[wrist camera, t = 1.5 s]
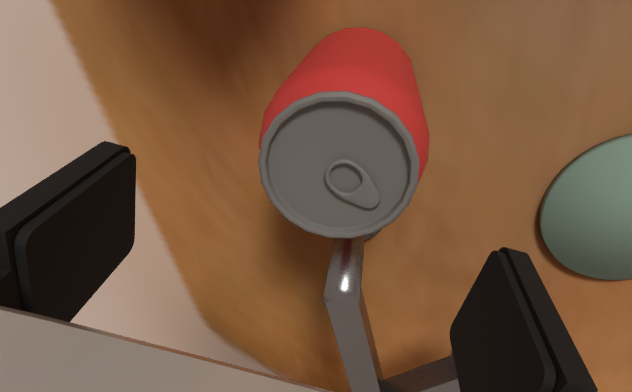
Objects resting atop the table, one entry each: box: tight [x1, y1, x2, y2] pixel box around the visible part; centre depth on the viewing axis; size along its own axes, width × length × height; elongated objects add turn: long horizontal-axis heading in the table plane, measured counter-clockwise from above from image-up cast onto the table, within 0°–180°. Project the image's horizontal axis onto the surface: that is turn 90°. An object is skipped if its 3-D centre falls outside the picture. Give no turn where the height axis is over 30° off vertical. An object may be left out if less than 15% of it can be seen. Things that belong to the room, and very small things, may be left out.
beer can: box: [258, 27, 429, 239], centre depth 20 cm, size 7×7×12 cm
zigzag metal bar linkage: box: [323, 229, 460, 392], centre depth 27 cm, size 17×13×9 cm
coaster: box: [539, 134, 632, 280], centre depth 26 cm, size 10×10×1 cm
